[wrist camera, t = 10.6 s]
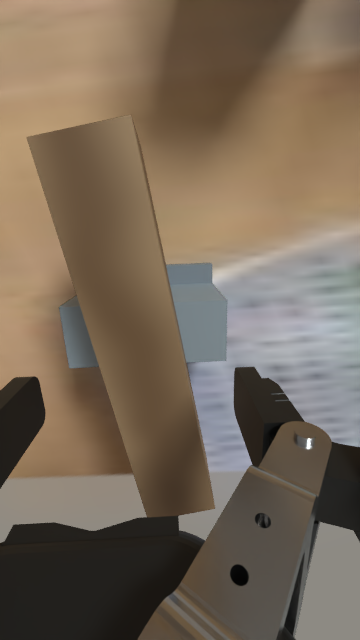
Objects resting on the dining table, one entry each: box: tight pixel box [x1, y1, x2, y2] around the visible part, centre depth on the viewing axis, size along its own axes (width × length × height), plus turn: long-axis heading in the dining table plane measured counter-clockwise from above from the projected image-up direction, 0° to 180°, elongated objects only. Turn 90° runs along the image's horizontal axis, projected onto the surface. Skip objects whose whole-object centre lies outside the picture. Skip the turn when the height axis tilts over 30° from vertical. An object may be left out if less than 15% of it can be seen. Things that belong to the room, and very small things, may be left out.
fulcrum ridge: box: [59, 263, 227, 368], centre depth 21 cm, size 10×7×7 cm
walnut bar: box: [27, 115, 215, 517], centre depth 15 cm, size 4×20×4 cm, turn 11°
